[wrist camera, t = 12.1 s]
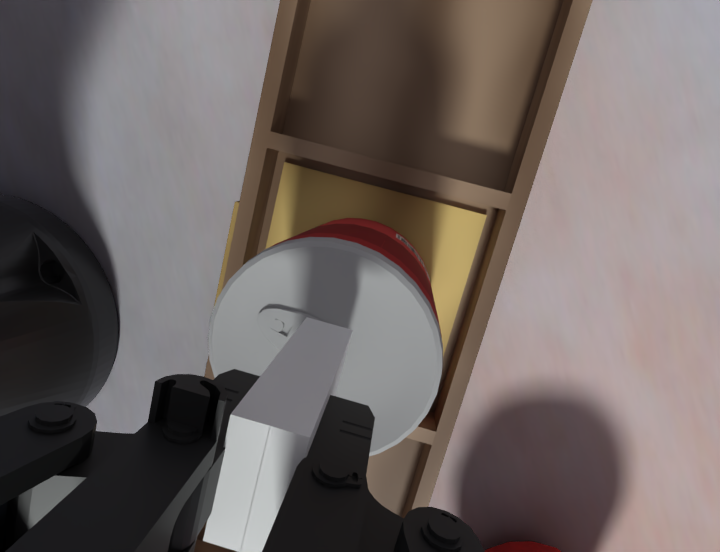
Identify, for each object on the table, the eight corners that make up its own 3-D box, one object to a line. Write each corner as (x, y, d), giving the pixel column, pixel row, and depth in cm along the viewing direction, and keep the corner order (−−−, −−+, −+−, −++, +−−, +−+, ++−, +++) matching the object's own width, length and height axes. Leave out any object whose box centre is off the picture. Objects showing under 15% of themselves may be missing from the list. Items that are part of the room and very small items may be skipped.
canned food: (301, 201, 26) (224, 213, 15) (447, 235, 26) (473, 273, 15) (274, 334, 28) (188, 430, 17) (412, 369, 27) (413, 490, 16)
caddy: (183, 535, 32) (160, 571, 29) (320, -129, 24) (308, -172, 21) (386, 598, 31) (384, 641, 28) (598, -65, 23) (625, -101, 20)
